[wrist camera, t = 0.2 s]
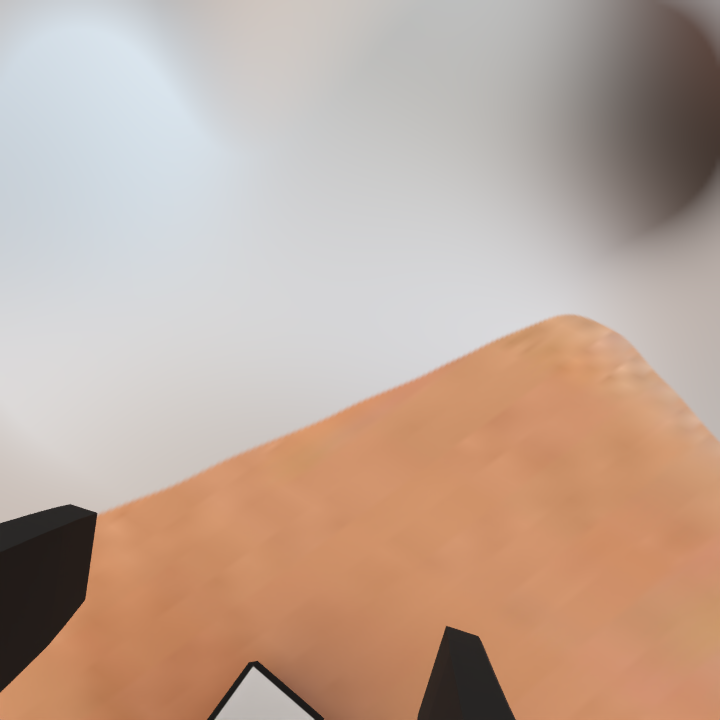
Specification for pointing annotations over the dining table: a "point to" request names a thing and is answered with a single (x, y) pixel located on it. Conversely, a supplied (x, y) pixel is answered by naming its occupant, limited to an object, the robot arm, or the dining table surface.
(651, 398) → the dining table surface
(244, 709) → the puzzle cube
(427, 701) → the robot arm
